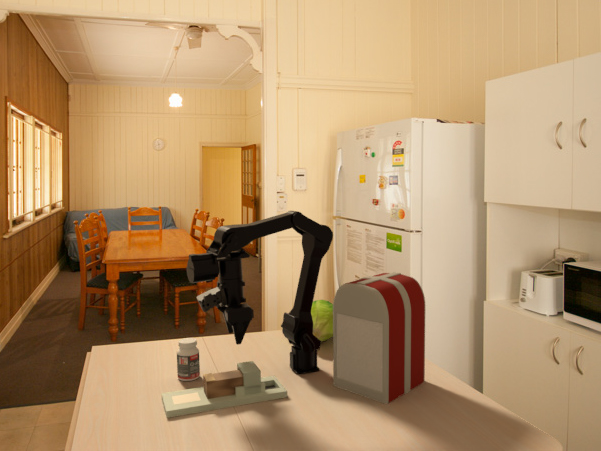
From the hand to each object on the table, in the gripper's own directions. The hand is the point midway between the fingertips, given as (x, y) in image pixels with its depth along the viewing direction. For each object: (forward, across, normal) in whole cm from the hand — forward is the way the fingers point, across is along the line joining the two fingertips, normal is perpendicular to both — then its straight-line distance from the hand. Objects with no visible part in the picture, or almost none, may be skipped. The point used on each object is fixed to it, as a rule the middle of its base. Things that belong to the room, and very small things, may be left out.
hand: (234, 338), depth 133 cm
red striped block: (+13, +12, +34) cm, 38 cm away
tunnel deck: (+12, +7, -5) cm, 15 cm away
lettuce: (+13, -24, +31) cm, 41 cm away
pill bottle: (+12, -9, -11) cm, 18 cm away
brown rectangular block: (+10, +7, -3) cm, 13 cm away
